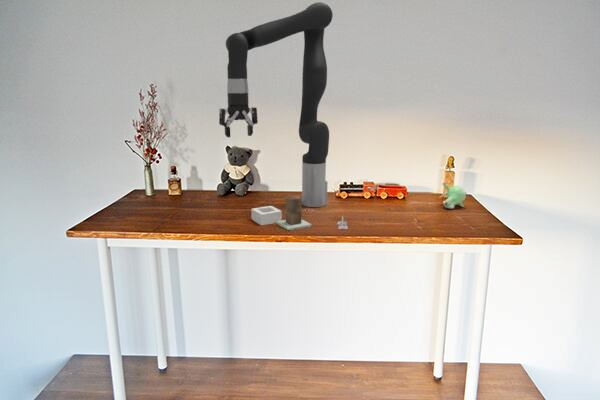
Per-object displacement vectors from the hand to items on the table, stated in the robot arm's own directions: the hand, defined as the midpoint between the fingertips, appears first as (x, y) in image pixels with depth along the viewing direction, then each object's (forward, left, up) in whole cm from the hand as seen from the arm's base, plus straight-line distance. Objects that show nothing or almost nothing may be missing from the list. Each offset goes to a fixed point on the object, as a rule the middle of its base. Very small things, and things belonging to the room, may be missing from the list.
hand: (239, 136), depth 177 cm
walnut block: (-8, +27, -27) cm, 39 cm away
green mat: (-8, +27, -28) cm, 40 cm away
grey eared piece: (-24, +34, -29) cm, 50 cm away
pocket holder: (-2, +18, -28) cm, 33 cm away
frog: (-74, +38, -28) cm, 88 cm away
